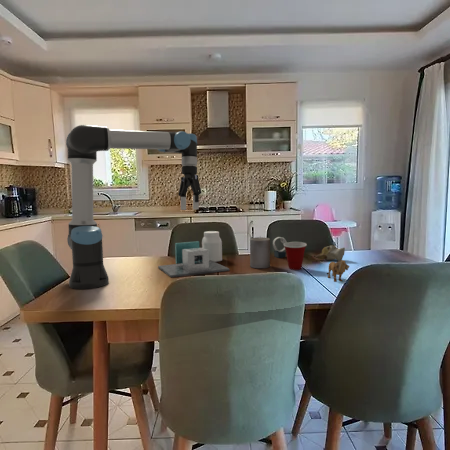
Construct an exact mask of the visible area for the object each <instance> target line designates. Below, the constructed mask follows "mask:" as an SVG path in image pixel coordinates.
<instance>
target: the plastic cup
mask: <svg viewBox="0 0 450 450" xmlns="http://www.w3.org/2000/svg"><path fill="white" fill-rule="evenodd" d="M307 246H308V245H307V242H304V241H303V242H302V241H290V242H289V241H288V242H287V243H284V245H283V248H284V247H285V250H284V251H285V252H286V260H287V264H288V269H289V270H292V269H293V270H294V271H296V270H302V268H303V262H304V257H305V256H304V255H305V252H306V248H307Z"/></svg>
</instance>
